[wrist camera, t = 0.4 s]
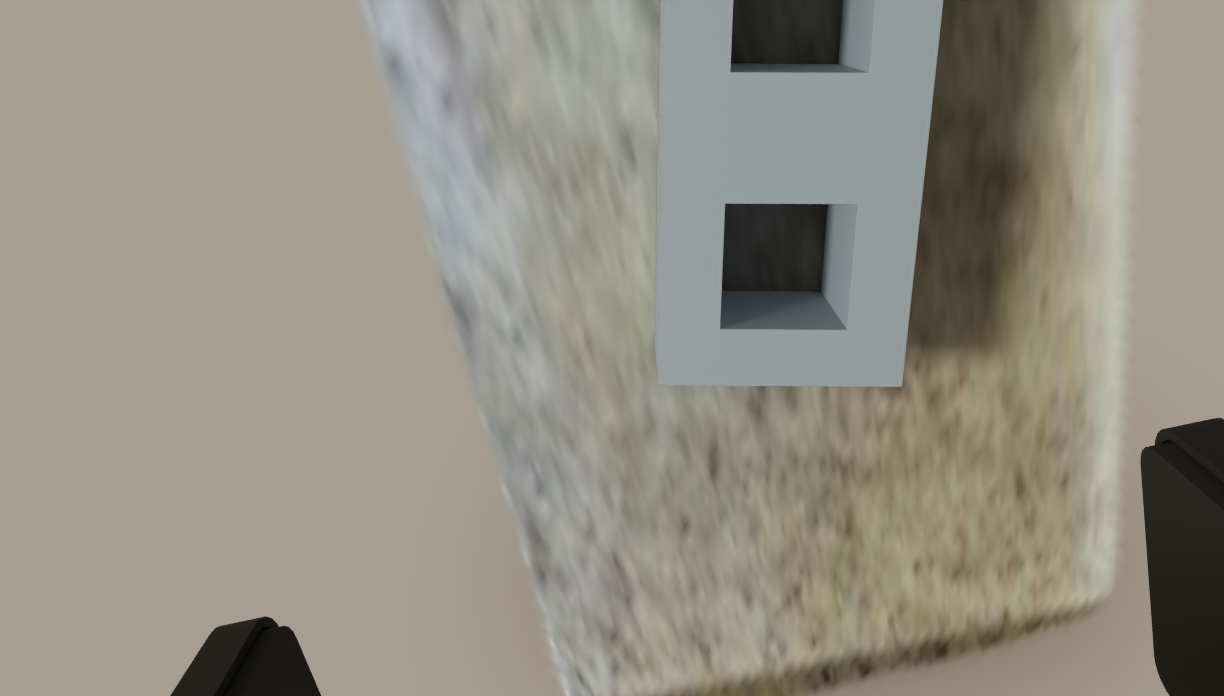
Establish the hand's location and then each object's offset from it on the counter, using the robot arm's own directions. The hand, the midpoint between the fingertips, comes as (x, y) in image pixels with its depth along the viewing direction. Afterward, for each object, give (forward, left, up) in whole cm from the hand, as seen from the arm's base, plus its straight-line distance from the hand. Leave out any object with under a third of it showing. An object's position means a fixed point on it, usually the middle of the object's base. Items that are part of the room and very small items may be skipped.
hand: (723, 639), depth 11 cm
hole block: (-2, +5, -30) cm, 30 cm away
